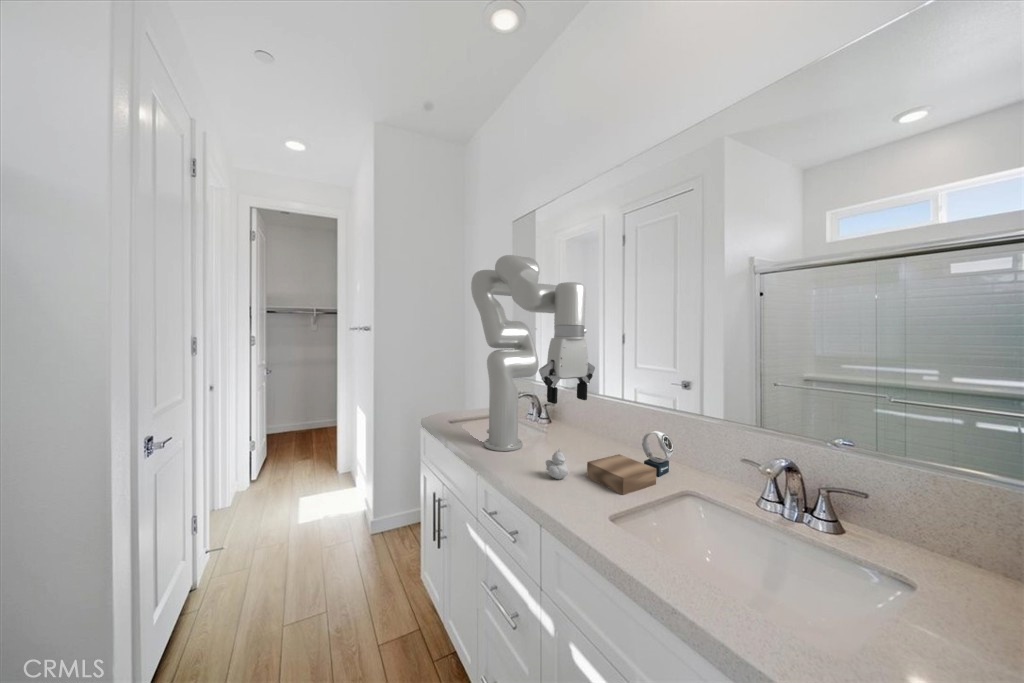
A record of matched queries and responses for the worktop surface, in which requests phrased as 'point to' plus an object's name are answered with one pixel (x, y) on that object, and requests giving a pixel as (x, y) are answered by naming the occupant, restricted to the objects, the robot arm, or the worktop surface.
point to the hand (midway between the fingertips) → (567, 401)
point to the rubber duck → (557, 465)
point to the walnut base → (621, 473)
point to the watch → (655, 462)
